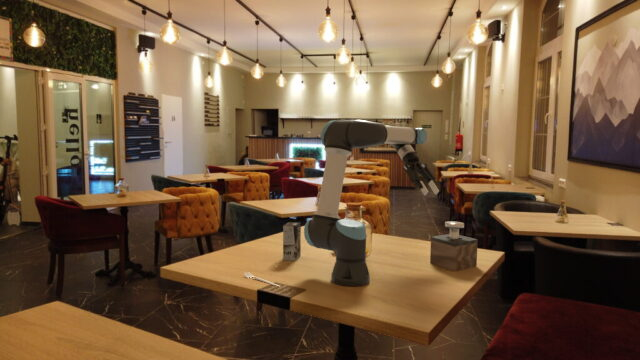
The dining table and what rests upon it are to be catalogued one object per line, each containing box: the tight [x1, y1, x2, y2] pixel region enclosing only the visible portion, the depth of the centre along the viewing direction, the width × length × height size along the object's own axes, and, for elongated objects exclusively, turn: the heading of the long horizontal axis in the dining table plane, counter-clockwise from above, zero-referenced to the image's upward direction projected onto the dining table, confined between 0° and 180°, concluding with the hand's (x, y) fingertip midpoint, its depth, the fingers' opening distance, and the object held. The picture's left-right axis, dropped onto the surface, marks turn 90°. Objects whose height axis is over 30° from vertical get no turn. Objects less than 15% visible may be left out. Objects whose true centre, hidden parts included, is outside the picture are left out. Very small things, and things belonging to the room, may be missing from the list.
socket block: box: [429, 233, 479, 272], centre depth 201 cm, size 14×14×12 cm
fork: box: [243, 271, 281, 288], centre depth 178 cm, size 3×20×2 cm, turn 49°
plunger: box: [444, 220, 465, 240], centre depth 201 cm, size 8×8×13 cm
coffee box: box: [282, 221, 302, 262], centre depth 210 cm, size 9×6×16 cm
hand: (431, 193), depth 211 cm, fingers open, 6 cm apart
